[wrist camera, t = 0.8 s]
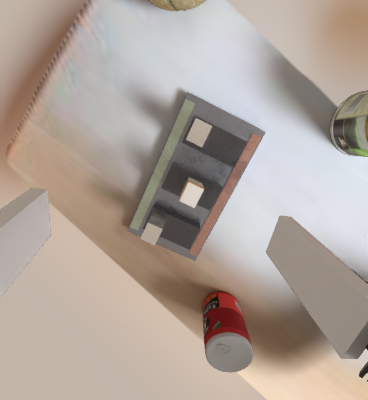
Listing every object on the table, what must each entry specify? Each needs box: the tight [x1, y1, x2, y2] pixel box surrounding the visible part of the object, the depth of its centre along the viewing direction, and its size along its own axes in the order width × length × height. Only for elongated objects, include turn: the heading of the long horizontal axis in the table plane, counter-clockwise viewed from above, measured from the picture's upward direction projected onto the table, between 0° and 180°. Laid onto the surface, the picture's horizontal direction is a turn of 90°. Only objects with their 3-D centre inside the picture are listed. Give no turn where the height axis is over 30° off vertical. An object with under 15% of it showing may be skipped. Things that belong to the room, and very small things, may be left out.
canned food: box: [202, 292, 253, 372], centre depth 41 cm, size 8×8×11 cm
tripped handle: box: [179, 177, 204, 208], centre depth 34 cm, size 2×3×5 cm
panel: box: [127, 92, 265, 261], centre depth 36 cm, size 14×26×9 cm, turn 155°
